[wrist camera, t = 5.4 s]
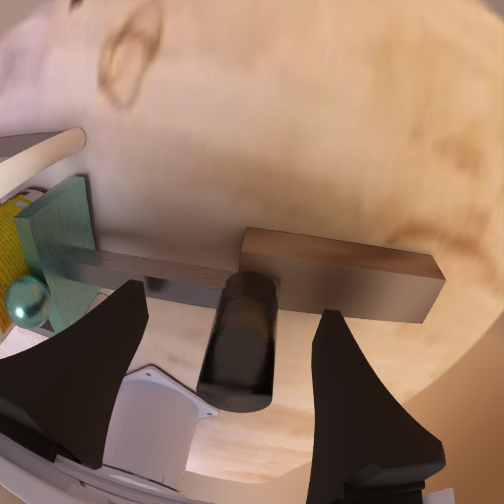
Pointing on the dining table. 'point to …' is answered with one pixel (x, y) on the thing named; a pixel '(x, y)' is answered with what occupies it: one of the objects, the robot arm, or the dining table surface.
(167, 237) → the dining table surface
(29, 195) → the supplement bottle
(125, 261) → the slider rail assembly
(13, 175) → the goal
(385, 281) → the guide
